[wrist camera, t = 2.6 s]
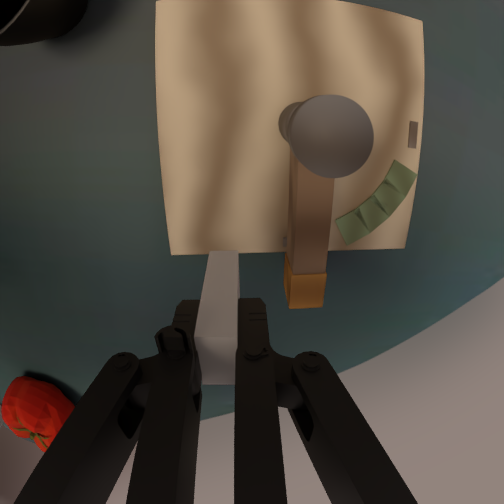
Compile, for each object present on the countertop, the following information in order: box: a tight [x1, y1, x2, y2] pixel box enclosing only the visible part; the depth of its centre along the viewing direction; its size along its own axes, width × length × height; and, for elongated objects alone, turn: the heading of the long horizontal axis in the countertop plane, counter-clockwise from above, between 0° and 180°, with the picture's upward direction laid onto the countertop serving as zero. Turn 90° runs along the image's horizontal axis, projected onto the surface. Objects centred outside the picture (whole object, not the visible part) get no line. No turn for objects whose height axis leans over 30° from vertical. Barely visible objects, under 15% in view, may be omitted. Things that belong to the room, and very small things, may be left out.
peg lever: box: [278, 95, 374, 309], centre depth 20 cm, size 15×4×8 cm, turn 1°
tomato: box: [1, 376, 75, 452], centre depth 34 cm, size 14×13×10 cm
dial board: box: [155, 0, 424, 255], centre depth 22 cm, size 22×22×1 cm
